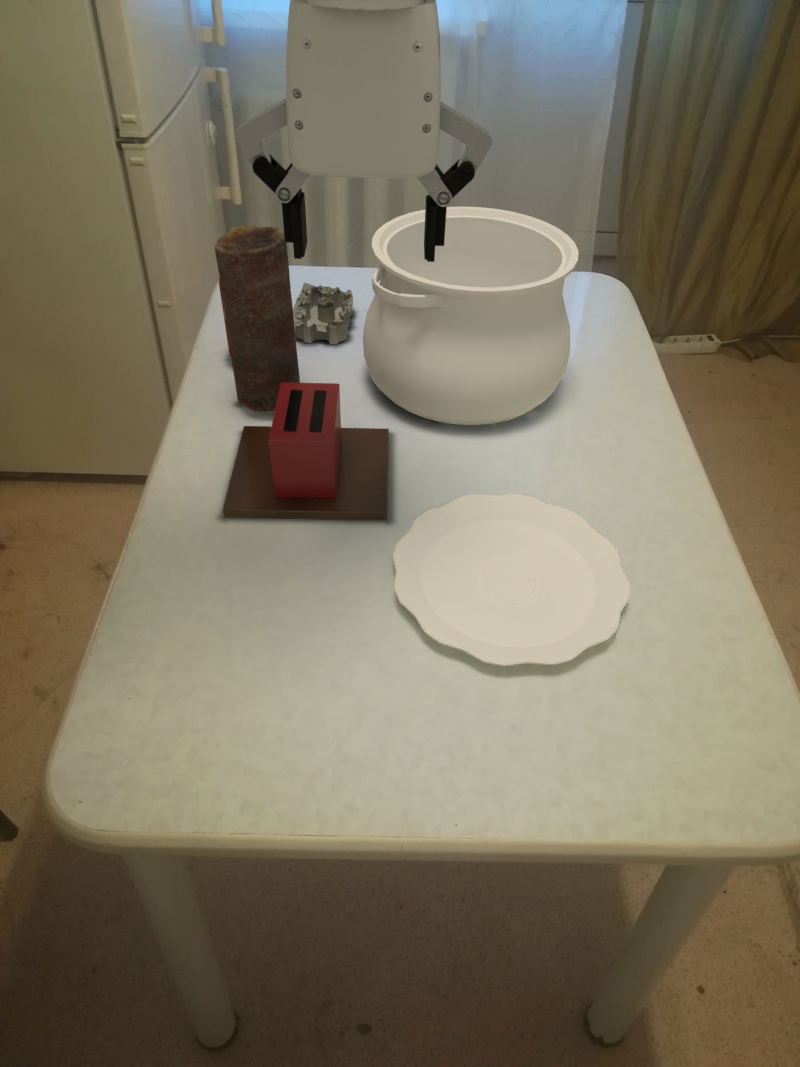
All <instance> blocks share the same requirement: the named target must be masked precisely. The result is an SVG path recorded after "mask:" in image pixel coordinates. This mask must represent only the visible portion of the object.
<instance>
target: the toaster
mask: <svg viewBox="0 0 800 1067" xmlns="http://www.w3.org/2000/svg"><path fill="white" fill-rule="evenodd" d="M340 390H341V389H340V383H336V382H335V383H332V382H331V383H330V382H325V383H324V382H300V383H286V382H281V384H280V389H279V394H278V398H277V403H276V408H275V412H273V413H274V414H273V418H272V421H271V422H272V424H271V432H270V437H269V448H270V456H271V465H272V473H273V482H274V490H275V497H276V498H328V499H336V492H337V481H338V470H339V459H340V448H341V428H342V418H341V416H342V414H341V391H340Z"/></svg>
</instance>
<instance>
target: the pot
mask: <svg viewBox="0 0 800 1067" xmlns="http://www.w3.org/2000/svg"><path fill="white" fill-rule="evenodd" d="M424 229H425V209H419V210H415V211H411V212H407V213H405V214H402V215H399V216H396V217H394V218H392V219H391V220H389V221H387V222H385V223H384V224H383V225H382V226H380V227H379V228H378V229H376V231H375V233H374V234H373V236H372V239H371V251H372V254H373V256H374V259H375V260H376V261H377V262H378V264H379V266H378V267H377V268H376V269H375V270H374V271H373V273H372V276H371V279H372V280H371V289H372V291H373V293H374V295H373V298H372V300H371V302H370V305H369V307H368V309H367V311H366V315H365V320H364V325H363V332H362V346H363V348H362V349H363V358H364V360H365V365H366V367H367V369H368V373H369V375H370V377H371V380H372V381H373V383H374V384H375V386H376V388H378V390H379V391H381V392H382V393H383V394H384V395H385V396H386V397H387V398H388V399H389V400H391V402H393V403H394V404H395V405H396V406H398V407H400V408H401V409H403V410H405V411H406V412H408V413H411V414H413V415H416V416H418V417H420V418H424V419H427V420H431V421H435V422H439V423H443V424H450V425H456V426H457V425H458V426H480V425H481V426H482V425H490V424H491V425H492V424H498V423H502V422H506V421H507V422H508V421H511V420H513V419H516V418H519V417H522V416H524V415H526V414H527V413H529V412H530V411H532V410H533V409H535V408H536V407H539V406H540V405H541V404H543V403H545V402H546V400H548V399H549V397H550V396H551V395H552V394H553V393H554V392H555V390H556V389H557V387H558V385H559V383H560V382H561V380H562V378H563V376H564V375H565V372H566V369H567V365H568V362H569V357H570V351H571V325H570V320H569V317H568V313H567V310H566V309H567V308H566V305H565V299H564V296H563V295H564V286H565V285H564V284H565V278H567V277H568V276H569V275H570V274H572V273H573V272H574V270H575V268H576V266H577V264H578V261H579V252H580V251H579V249H578V247H577V244H576V242H575V241H574V240H573V239H572V238H571V237H570V236H569V234H567V233H566V232H565V231H563V230H561V229H560V228H559V227H557V226H555V225H554V224H551V223H549V222H547V221H545V220H542V219H539V218H537V217H534V216H532V215H531V216H530V215H527V214H523V213H519V212H516V211H511V210H505V209H498V208H493V207H492V208H491V207H483V206H482V207H481V206H447V210H446V225H445V240H444V246H435V259H434V262H427V260H425V257H424Z"/></svg>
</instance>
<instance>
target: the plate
mask: <svg viewBox="0 0 800 1067" xmlns="http://www.w3.org/2000/svg"><path fill="white" fill-rule="evenodd" d="M391 555H392V556H391V558H392V561H393V566H394V570H395V575H394V583H393V590H394V592H395V596H396V598H397V600H398V602H399V604H400V605H401V606H402V607H404V609H406V611H408V612H409V613H410V614H411V615H412V616H414V619H415V620H416V621H417V623H418V624H419V626H420V627H421V629H422V631H423V633H424V634H425V635H427V636H428V637H430V638H431V639H433V640H434V641H436V642H437V643H438V644H439V645H442V646H446V647H449V648H452V649H456V650H458V651H461V652H464V653H466V654H468V655H470V656H471V657H473V658H475V659H477V660H478V661H480V662H482V663H484V664H490V665H496V666H500V667H510V666H511V667H512V666H518V665H528V664H530V665H541V666H557V665H561V664H564V663H568V662H572V661H573V660H575V659H576V658H578V656H580V655H581V654H582V653H583V652H585V651H586V650H587V649H590V648H593V647H595V646H598V645H599V644H600V645H601V644H603V643H605V642H608V640H610V638H611V637H612V636H613V635H615V633H616V632H617V631H618V629H619V625H620V620H621V614H622V611H623V610H624V608H625V607H626V605H627V604H628V602H629V601H630V599H631V583H630V581H629V579H628V578H627V575H626V573H625V572H624V570H623V568H622V563H621V557H620V552H619V551H618V550H617V548H616V547H615V545H614V544H613V543H612V542H611V540H610V539H608V538H607V537H605V536H604V535H602V534H601V533H600V532H598V531H596V530H595V529H594V528H593V527H592V526H591V525H590V524H589V523H588V521H586V520H585V518H584V517H583V516H581V515H579V514H577V513H575V512H574V511H572V510H570V509H568V508H567V507H562V506H557V505H553V504H549V503H547V502H544V501H542V500H540V499H537V498H535V497H533V496H530V495H525V494H517V493H505V494H495V495H493V494H482V493H481V494H480V493H471V494H467V495H462V496H458V497H456V498H454V499H453V500H450V501H449V502H447V503H445V504H442V505H440V506H436V507H433V508H429V509H426V510H424V511H423V512H422V513H421V514H419V515H418V516H416V517H415V518H414V520H413V522H412V524H411V526H410V528H409V529H408V531H407V532H406V533H405V534H404V535H403V536H402V537H401V538H400V539H399V540H398V541H397V542H396V543H395V545H394V549H393V552H392V554H391Z"/></svg>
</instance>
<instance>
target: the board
mask: <svg viewBox="0 0 800 1067" xmlns="http://www.w3.org/2000/svg"><path fill="white" fill-rule="evenodd" d="M271 427H272V425H271V426H265V425H263V426H261V425H255V426H254V425H244V426H243V428H242V432H241V436H240V440H239V444H238V448H237V452H236V456H235V459H234V463H233V469H232V472H231V476H230V479H229V484H228V487H227V492H226V495H225V499H224V502H223V507H222V514H223V518H226V519H227V518H229V519H230V518H231V519H232V518H233V519H236V518H237V519H284V520H285V519H288V520H289V519H291V520H292V519H294V520H350V521H352V520H355V521H357V520H358V521H363V520H365V521H388V503H389V502H388V499H389V498H388V495H389V492H388V489H389V433H390V432H389V430H390V429H389V428H377V427H376V428H373V427H372V428H371V427H369V428H368V427H341V448H340V459H339V470H338V481H337V492H336V499H328V498H276V497H275V490H274V482H273V473H272V465H271V456H270V448H269V437H270V432H271Z"/></svg>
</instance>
